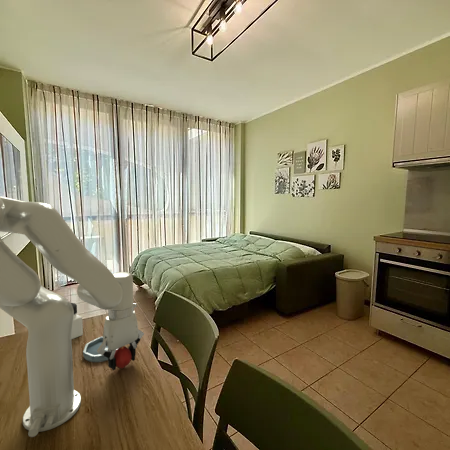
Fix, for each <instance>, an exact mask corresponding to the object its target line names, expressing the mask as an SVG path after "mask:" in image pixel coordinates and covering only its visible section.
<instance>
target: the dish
mask: <svg viewBox="0 0 450 450" xmlns="http://www.w3.org/2000/svg"><path fill="white" fill-rule="evenodd" d="M102 342H103V336H99V337H97V338H95V339H93V340H90V341H89V342H87V343H86V344H85V345H84V349H83V350H82V355H83V358H84V360H85V361H87V362H90V363H102V362H108V358H107V357H105V356H103V355H101V354H99V353H98V352H97V350H98V348H99V347H100V345H101V344H102ZM104 350H105V351H107V350H108V346H106V348H105V349H104ZM116 350H117V349H116Z"/></svg>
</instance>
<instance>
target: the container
mask: <svg viewBox="0 0 450 450" xmlns="http://www.w3.org/2000/svg"><path fill="white" fill-rule="evenodd" d="M70 303H71V304H72V307H73V310H74V318H73V324H72V333H71V340H74V339H76V338H78V337H79V338H80V336H83V334H84V330H83V329H84V328H83V326H84V325H83V317H82V316H81V315H79V314H78V305H77V304H76V303H73V302H70Z"/></svg>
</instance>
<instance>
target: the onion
mask: <svg viewBox="0 0 450 450" xmlns="http://www.w3.org/2000/svg"><path fill="white" fill-rule="evenodd" d="M114 357H115V359H116V367H117V368H118V369H124V368H126V367H127V366H129V364H130V363H131V361H132V360H131V358H132V355H131V351H130V350H129V349H128V347H126V346H122V347H120V348H118V349H117V350H116V352H115V355H114Z"/></svg>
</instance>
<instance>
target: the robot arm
mask: <svg viewBox="0 0 450 450" xmlns="http://www.w3.org/2000/svg"><path fill="white" fill-rule="evenodd" d="M1 232H2V233H11V234H20V235H24V236H25V237H26V238H27V239H28V240H29V241H30V242H31V243H32V244H33V245H34V247H35V248H36V249H37V250H38V251H39V252H40V253H41V255H42V256H43V257H44V258H45V260H47V262H48V263H49V264H50V265H51V266H52V267H53V268H54V269H56V270H57V271H59V272H60V273H61V274H63V275H64V276H67V277H68V278H69V279H72V280H73V281H74V282H77V284H79V285H78V286H77V290H76V294H77V297H78V298H79V299H80V300H81V301H83V302H85V303H86V304H89V305H92V306H95V307H97V308H99V309H101V310H104V311H105V310H106V311H108V312H107V314H108V315H107V316H106V317H105V320H104V324H103V334H102V337H103V342H102V344H101V345H100V347H99V348H98V350H97V352H98V353H99V354H101V355H103V356H105V357H107V358H108V360H107V365H108V368H109V369H111V370H112V371H115V370H116V369H117V368H116V359H115V357H114V355H115V352H116V349H118V348H120V347H122V346H124V347H126V346H127V345H128V347H127V348H128V349H129V350H130V351H131V355H132V358H131V361H133V362H134V361H135V360H136V351H137V350H136V349H137V348H138V344H139V343H140V341H141V339H142V338H143V336H144V335H145V333H144V331H142V330H140V329H139V325H138V319H137V315H136V311H135V308H137V306H138V304H137V302H134V279H133V278H134V277H133V274H132V273H131V272H128V271H118V272H114V273H112V272H111V270H110V269H109V268H108V267H107V266H106V265H105V264H103V262H101V261H100V260H99V259H98V258H97V257H96V256H95V255H94V254H93V253H92V252H91V251H90V250H89V249H87V247H86V246H85V245H83V243H82V242H81V241H80V239H79V238H78V236H77V235H76V234H75V232H74V231H73V230H72V229H71V227H70V226H69V224H68V223H67V222H66V220H65V219H64V218H63V216H62V215H61V214H60V213H59V212H58V210H57V209H56V208H55V207H53V206H52V205H51V204H49V203H46V202H40V201H39V202H37V201H25V200H19V199H13V198H9V197H5V196H0V233H1ZM71 303H72V302H70V301H69V299H67V298H66V297H65V296H63V295H61V294H59V293H57V292H55V291H52V290H49V289H47V288H46V287H44V286H43V285H42V283H41V280H40V277H39V275H38V274H37V272H36V271H35V270H34V269H33V268H32V267H30V266H29V265H28V264H26V263H25V262H24V261H23V260H22V259H21V258H20V257H19V256H18V255H17V254H16V253H14V252H13V251H12V249H10V247H9V246H8V245H7V244H6V243H5V242H4V240H3V239H2V237H1V236H0V309H1V310H2V311H3V312H5V313H6V314H8V315H9V316H10V317H11V318H12V319H14V320H15V321H17V322H18V323H20V324H22V325H23V326H24V327H25V328H26V329H27V331H28V333H27V334H28V336H27V337H28V338H27V342H26V350H25V352H26V354H25V355H26V356H25V357H26V366H27V367H26V368H27V384H28V394H29V396H28V397H29V399H28V400H29V406H28V408H27V409H26V410H25V412H24V414H23V416H22V425H23V428H24V429H26V431H28V433H27V434H28V435H27V436H28V437H30V438H34V437H36V436H37V435H38V434H39V432H46V431H50V430H52V429H55V428H57V427H59V426H61V425H62V424H65V422H67V421H69V420H70V419H71V418H72V417H73V416H75V414H76V413H77V412H78V410H79V408H80V407H81V402H82V398H81V397H82V396H81V394H80V392H78V391H77V390H75V389H74V388H75V387H74V367H73V366H74V364H73V348H72V344H73V343H72V339H71V333H72V324H73V318H74V310H73V307H72V304H71ZM106 346H108V350H107V351H105V350H104V349H105V348H106Z"/></svg>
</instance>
